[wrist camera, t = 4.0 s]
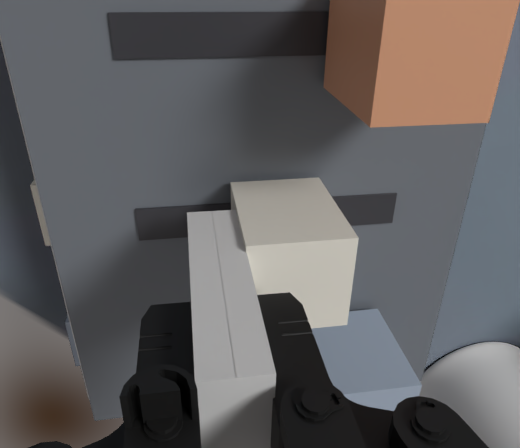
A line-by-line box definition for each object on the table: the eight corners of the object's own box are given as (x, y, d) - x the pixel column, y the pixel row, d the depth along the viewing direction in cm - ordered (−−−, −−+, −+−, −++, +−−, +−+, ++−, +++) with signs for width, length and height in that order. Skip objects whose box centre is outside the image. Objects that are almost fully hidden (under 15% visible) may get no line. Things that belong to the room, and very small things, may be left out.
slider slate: (306, 315, 19) (335, 395, 15) (377, 308, 19) (422, 384, 16) (302, 369, 20) (328, 453, 17) (368, 362, 21) (407, 442, 17)
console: (4, -101, 15) (-67, -126, 11) (452, -89, 17) (546, -105, 13) (97, 340, 24) (80, 424, 20) (381, 312, 27) (422, 382, 22)
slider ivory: (230, 182, 15) (245, 246, 12) (318, 177, 16) (358, 238, 12) (232, 258, 17) (246, 335, 13) (313, 252, 17) (346, 324, 14)
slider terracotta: (331, -24, 13) (388, -18, 9) (433, -23, 13) (524, -17, 10) (323, 87, 14) (370, 127, 11) (415, 84, 15) (488, 122, 11)
